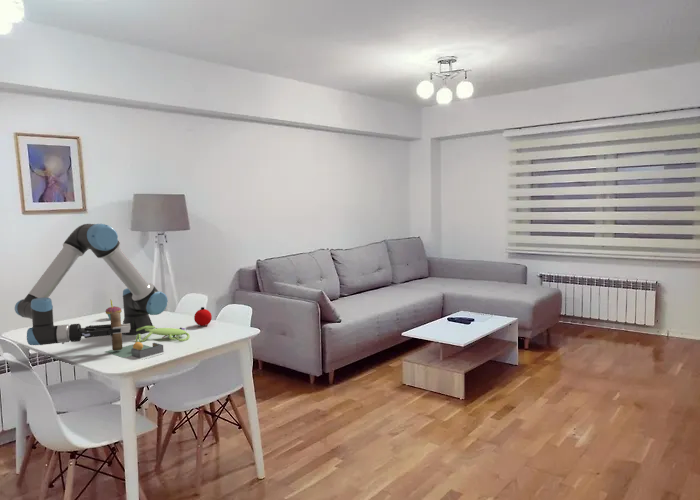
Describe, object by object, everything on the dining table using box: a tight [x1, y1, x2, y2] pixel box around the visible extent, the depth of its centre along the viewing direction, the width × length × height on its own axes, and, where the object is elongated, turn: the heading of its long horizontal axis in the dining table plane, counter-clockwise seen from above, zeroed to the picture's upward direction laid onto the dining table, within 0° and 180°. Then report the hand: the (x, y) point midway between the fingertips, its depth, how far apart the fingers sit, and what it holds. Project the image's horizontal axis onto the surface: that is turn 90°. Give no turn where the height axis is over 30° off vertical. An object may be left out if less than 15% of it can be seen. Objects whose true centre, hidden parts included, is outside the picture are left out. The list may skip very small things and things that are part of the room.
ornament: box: [193, 306, 213, 327], centre depth 270 cm, size 9×9×10 cm
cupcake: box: [105, 299, 122, 321], centre depth 291 cm, size 9×8×12 cm
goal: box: [131, 342, 164, 359], centre depth 218 cm, size 6×11×4 cm, turn 144°
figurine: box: [135, 325, 190, 343], centre depth 247 cm, size 18×27×6 cm
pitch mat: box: [104, 343, 152, 359], centre depth 224 cm, size 16×16×1 cm
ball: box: [132, 341, 144, 350], centre depth 222 cm, size 4×4×4 cm
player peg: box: [109, 312, 123, 351], centre depth 221 cm, size 4×4×16 cm
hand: (129, 327), depth 223 cm, fingers closed on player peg, 4 cm apart
